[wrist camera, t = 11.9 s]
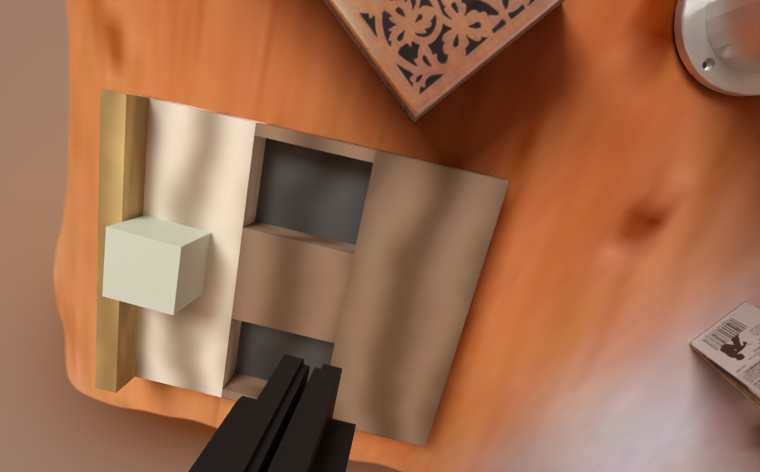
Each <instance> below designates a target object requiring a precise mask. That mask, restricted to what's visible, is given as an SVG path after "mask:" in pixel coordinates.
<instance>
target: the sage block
mask: <svg viewBox="0 0 760 472" xmlns="http://www.w3.org/2000/svg"><path fill="white" fill-rule="evenodd" d="M210 239H211V232H208V231H204V230H200V229H196V228H193V227H189V226H185V225H181V224H178V223H174V222H170V221H167V220H163V219H159V218H155V217H152V216H148V215H144V216H141V217H138V218H134V219H131V220H127V221H124V222H120V223H117V224H114V225H110V226H107V227H106V237H105V255H104V273H103V291H102V296H103V297H107V298H111V299H115V300H118V301H122V302H126V303H129V304H133V305H137V306H140V307H144V308H148V309H152V310H155V311H159V312H163V313H166V314H170V315H175V314H176V313H177V312H179V311H180V310H181V309H183V308H184V307H185V306H187V305H188V304H189V303H191V302H192V301H193V300H195V299H196V298H197V297H199V296H200V295H201V294H203V290H204V283H205V276H206V268H207V261H208V254H209V246H210Z"/></svg>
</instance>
